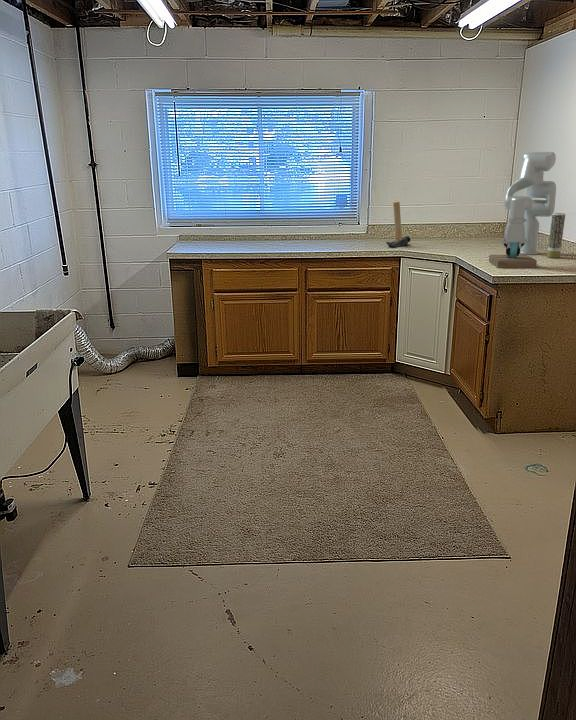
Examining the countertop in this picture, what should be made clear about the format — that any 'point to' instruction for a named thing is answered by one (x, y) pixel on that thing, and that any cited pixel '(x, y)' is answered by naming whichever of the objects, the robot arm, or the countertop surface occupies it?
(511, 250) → the dowel peg
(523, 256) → the socket block
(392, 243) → the hammer
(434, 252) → the countertop surface
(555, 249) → the bark patterned cylinder
